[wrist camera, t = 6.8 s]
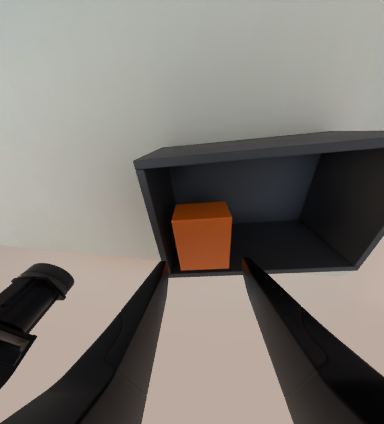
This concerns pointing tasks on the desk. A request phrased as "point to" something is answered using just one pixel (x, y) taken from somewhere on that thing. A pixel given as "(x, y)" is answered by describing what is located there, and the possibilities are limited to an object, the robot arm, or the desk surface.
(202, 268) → the block
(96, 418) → the robot arm
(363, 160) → the bin
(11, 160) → the desk surface
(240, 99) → the desk surface
